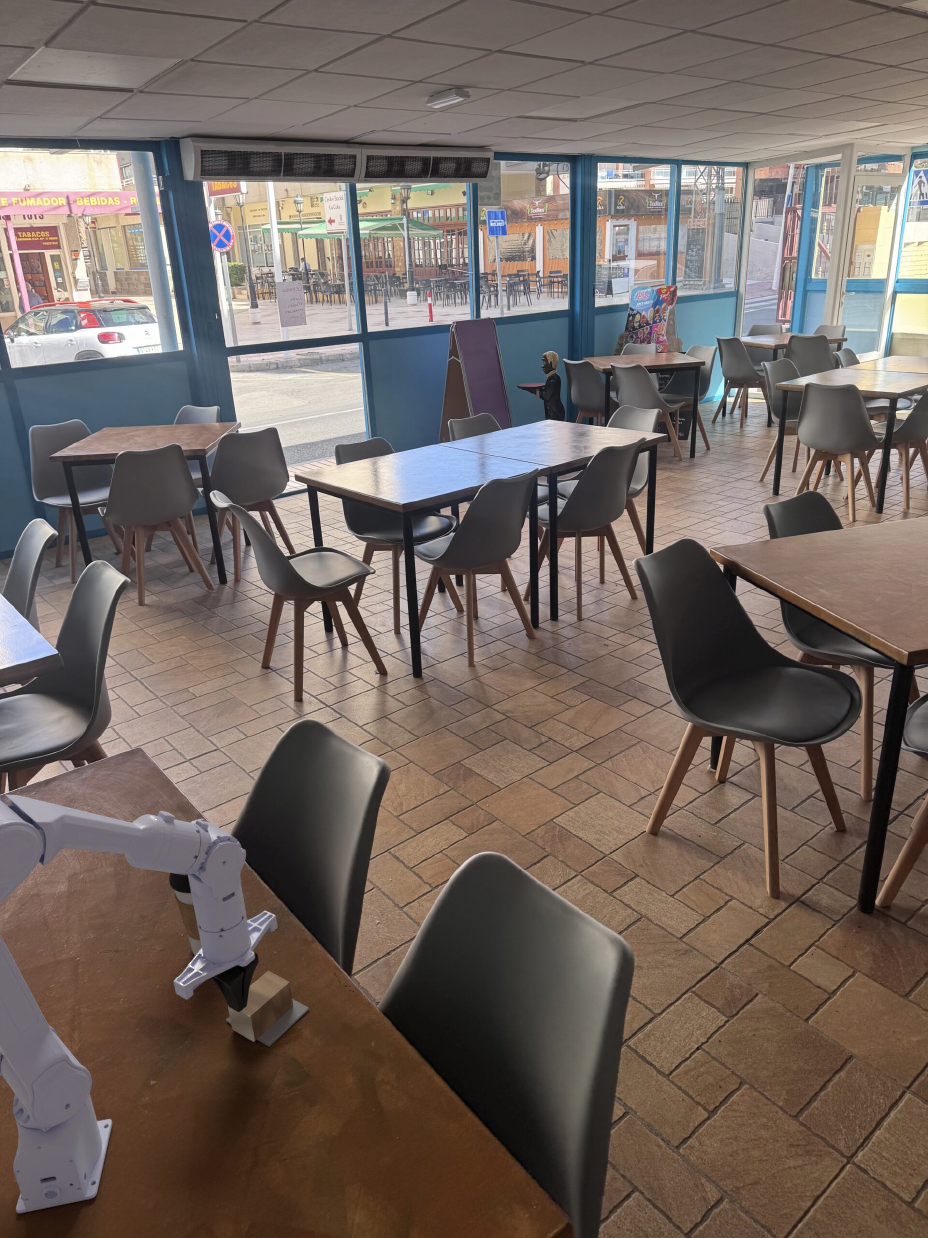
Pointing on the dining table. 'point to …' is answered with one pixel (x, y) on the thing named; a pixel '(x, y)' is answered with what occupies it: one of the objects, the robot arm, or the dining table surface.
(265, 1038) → the slate mat
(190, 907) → the coffee cup
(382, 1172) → the dining table surface
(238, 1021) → the walnut block
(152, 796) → the dining table surface
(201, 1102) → the dining table surface
